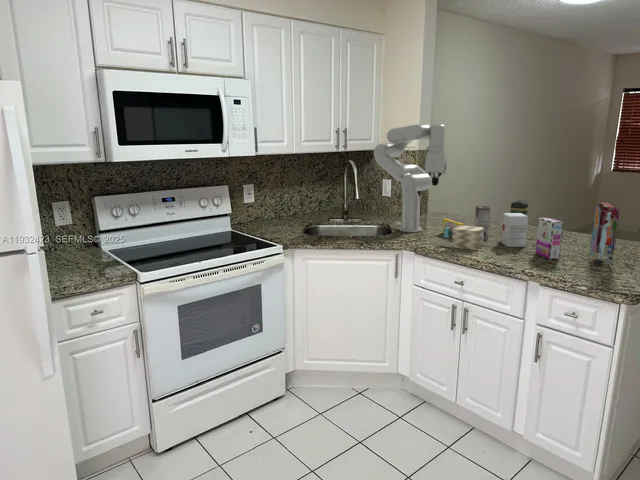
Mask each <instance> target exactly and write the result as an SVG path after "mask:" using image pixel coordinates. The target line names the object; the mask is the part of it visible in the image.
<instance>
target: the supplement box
mask: <svg viewBox="0 0 640 480" xmlns="http://www.w3.org/2000/svg"><path fill="white" fill-rule="evenodd" d="M528 222H529V216H528V215H527V216H526V215H524V214H522V213H510V212H505V213H504V212H503V213H502V221H501V223H502V224H501V225H502V226H501V236H500V238H501V239H500V243H501V244H503V245H504V246H506V247H507V248H512V247H513V248H517V247H518V248H519V247H520V248H521V247H523V248H524V247H526V244H527V234H528Z"/></svg>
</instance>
